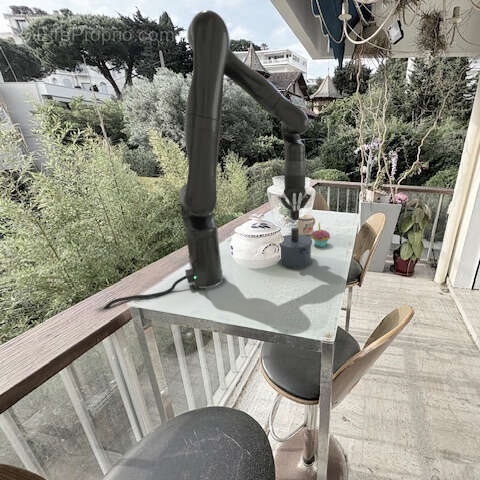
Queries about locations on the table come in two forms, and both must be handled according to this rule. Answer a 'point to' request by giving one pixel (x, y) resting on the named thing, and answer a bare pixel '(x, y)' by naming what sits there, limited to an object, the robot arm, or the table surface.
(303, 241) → the lid
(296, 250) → the pot
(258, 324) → the table surface
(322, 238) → the cupcake
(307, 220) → the teacup with lid
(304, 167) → the robot arm
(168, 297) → the table surface
